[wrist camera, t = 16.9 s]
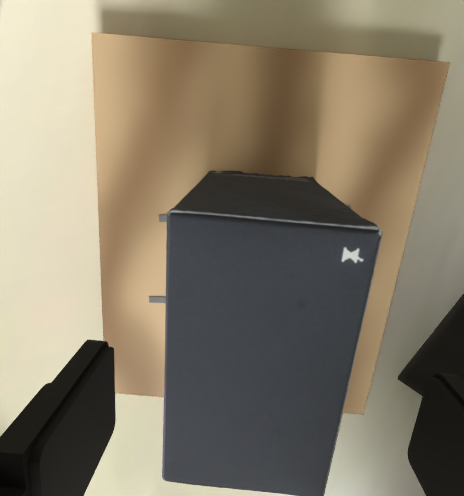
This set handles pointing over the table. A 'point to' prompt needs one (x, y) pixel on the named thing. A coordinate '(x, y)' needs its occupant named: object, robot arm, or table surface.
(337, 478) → the table surface
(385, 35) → the table surface
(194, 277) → the small box
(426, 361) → the barrier
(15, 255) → the table surface
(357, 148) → the board
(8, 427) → the robot arm
